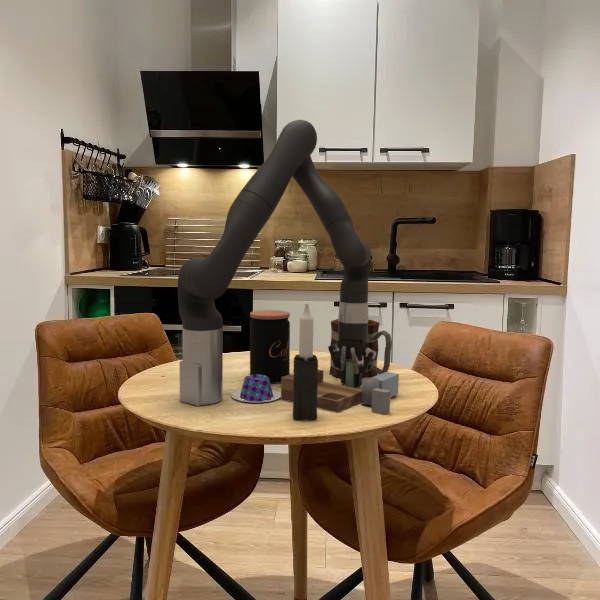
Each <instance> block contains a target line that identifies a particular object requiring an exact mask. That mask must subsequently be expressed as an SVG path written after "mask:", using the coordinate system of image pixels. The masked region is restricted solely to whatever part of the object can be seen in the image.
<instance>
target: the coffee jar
mask: <svg viewBox="0 0 600 600" xmlns="http://www.w3.org/2000/svg"><path fill="white" fill-rule="evenodd" d="M249 315H250V316H249V317H250V318H251V319H250V321H249V375H256V374H260V375H265V376H267V377H268V378H269V379H270V384H279V383H280V384H281V377H283V376H287V375H290V374H291V373H290V369H291V367H290V360H291V359H290V358H291V356H290V354H291V353H290V352H291V351H290V350H291V349H290V347H291V345H290V344H291V341H290V340H291V338H290V336H291V324H290V320H289V318H290V315H291V313H290V312H289V311H286V310H278V309H275V310H274V309H260V310H253V311H251V312H250V313H249Z"/></svg>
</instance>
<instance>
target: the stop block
mask: <svg viewBox="0 0 600 600" xmlns="http://www.w3.org/2000/svg"><path fill="white" fill-rule="evenodd" d="M372 411H373V413H376V412H378V413H377V414H381V413H382V415H388V414H389V413H390V411H391V397H390V390H385V389H379V388H375V389H373V390H372V405H371V412H372Z"/></svg>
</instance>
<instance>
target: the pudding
mask: <svg viewBox="0 0 600 600" xmlns="http://www.w3.org/2000/svg"><path fill="white" fill-rule="evenodd" d="M271 384H272V383H270V379H269V378H268V377H267V376H265V375H260V374H256V375H250V374H249V375H246V376H245V377H244V379H243V383H242V386H241V389H239V390H236V391H234V392H232V393H231V398H233V399H234V400H236V401H241V402H246V403H251V401H252V402H255V403H267V402H273V401H276V400H279V399H281V392H280V391H277V390H275V389H272V385H271ZM239 395H240V396H239ZM238 396H239V397H238ZM240 398H241V399H240ZM242 399H244V400H245V401H244V400H242Z"/></svg>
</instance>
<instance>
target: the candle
mask: <svg viewBox="0 0 600 600" xmlns="http://www.w3.org/2000/svg"><path fill="white" fill-rule="evenodd" d="M309 305H310V303H309V302H305V303H304V309H303V312H302V314H301V316H300V318H299V332H298V333H299V337H298V338H299V342H298V343H299V344H298V345H299V347H298V351H299V352H298V354H296V355H295V356H294V357H293V375H294V377H293V402H292V418H293V420H294V421H316V420H317V419H318V408H317V388H318V370H319V360H318V357H317V355H316V354H314V317H313V316H312V314H311V310H310V307H309Z"/></svg>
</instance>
